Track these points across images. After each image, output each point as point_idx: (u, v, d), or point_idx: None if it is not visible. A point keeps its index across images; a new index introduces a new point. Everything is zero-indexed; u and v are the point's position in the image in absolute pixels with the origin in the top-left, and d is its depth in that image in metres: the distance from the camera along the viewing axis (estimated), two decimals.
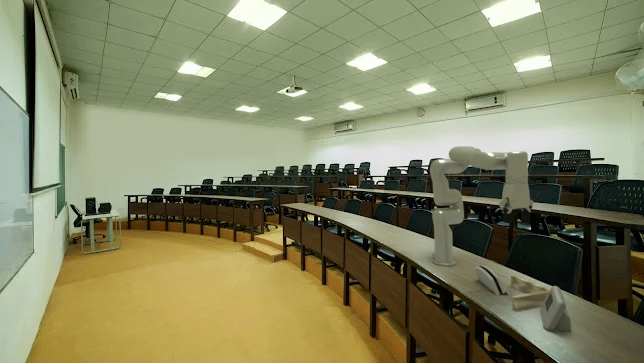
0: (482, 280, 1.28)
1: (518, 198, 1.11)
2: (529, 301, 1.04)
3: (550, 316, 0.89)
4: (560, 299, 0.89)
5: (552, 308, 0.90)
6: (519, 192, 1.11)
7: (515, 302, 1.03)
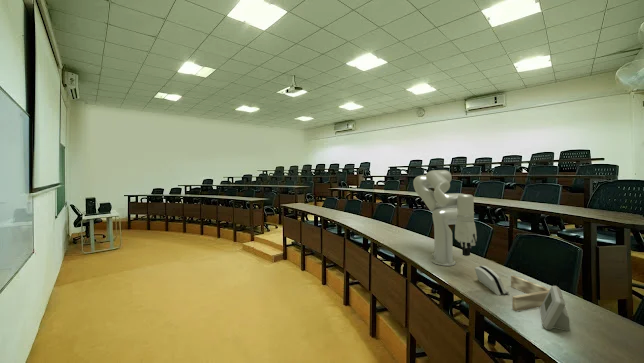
0: (481, 280, 1.28)
1: None
2: (529, 301, 1.04)
3: (548, 316, 0.90)
4: (559, 299, 0.89)
5: (551, 308, 0.90)
6: None
7: (515, 302, 1.03)
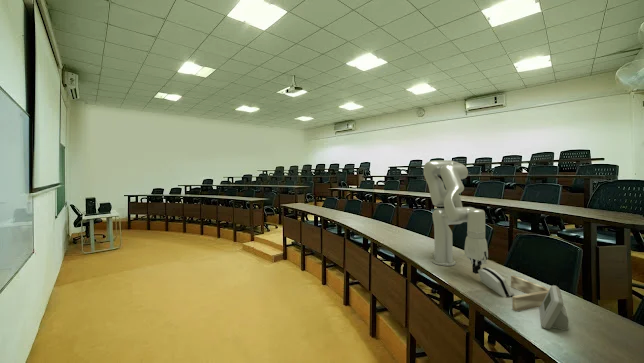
0: (485, 282, 1.25)
1: None
2: (529, 301, 1.04)
3: (547, 315, 0.90)
4: (557, 298, 0.90)
5: (549, 307, 0.90)
6: None
7: (515, 302, 1.03)
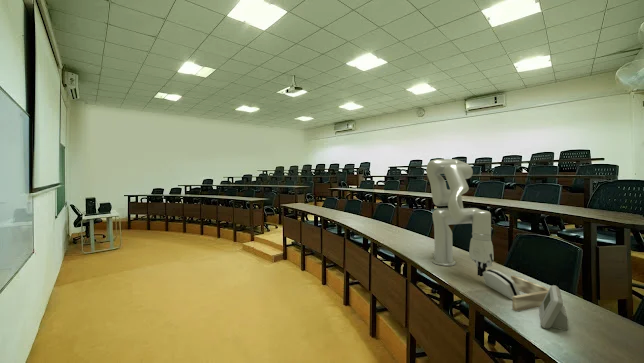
0: (491, 285, 1.22)
1: None
2: (529, 301, 1.04)
3: (546, 315, 0.90)
4: (557, 298, 0.90)
5: (549, 307, 0.90)
6: None
7: (515, 302, 1.03)
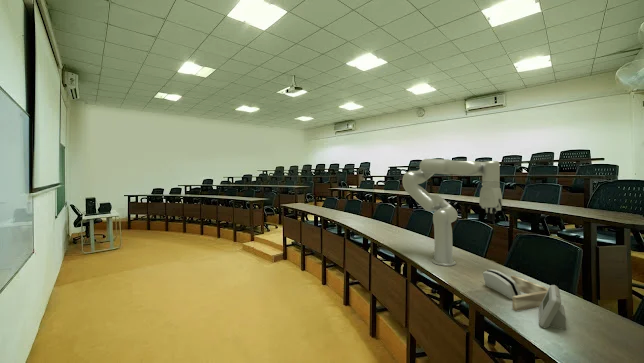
0: (491, 285, 1.22)
1: None
2: (529, 301, 1.04)
3: (544, 314, 0.91)
4: (555, 297, 0.90)
5: (547, 306, 0.91)
6: None
7: (515, 302, 1.03)
